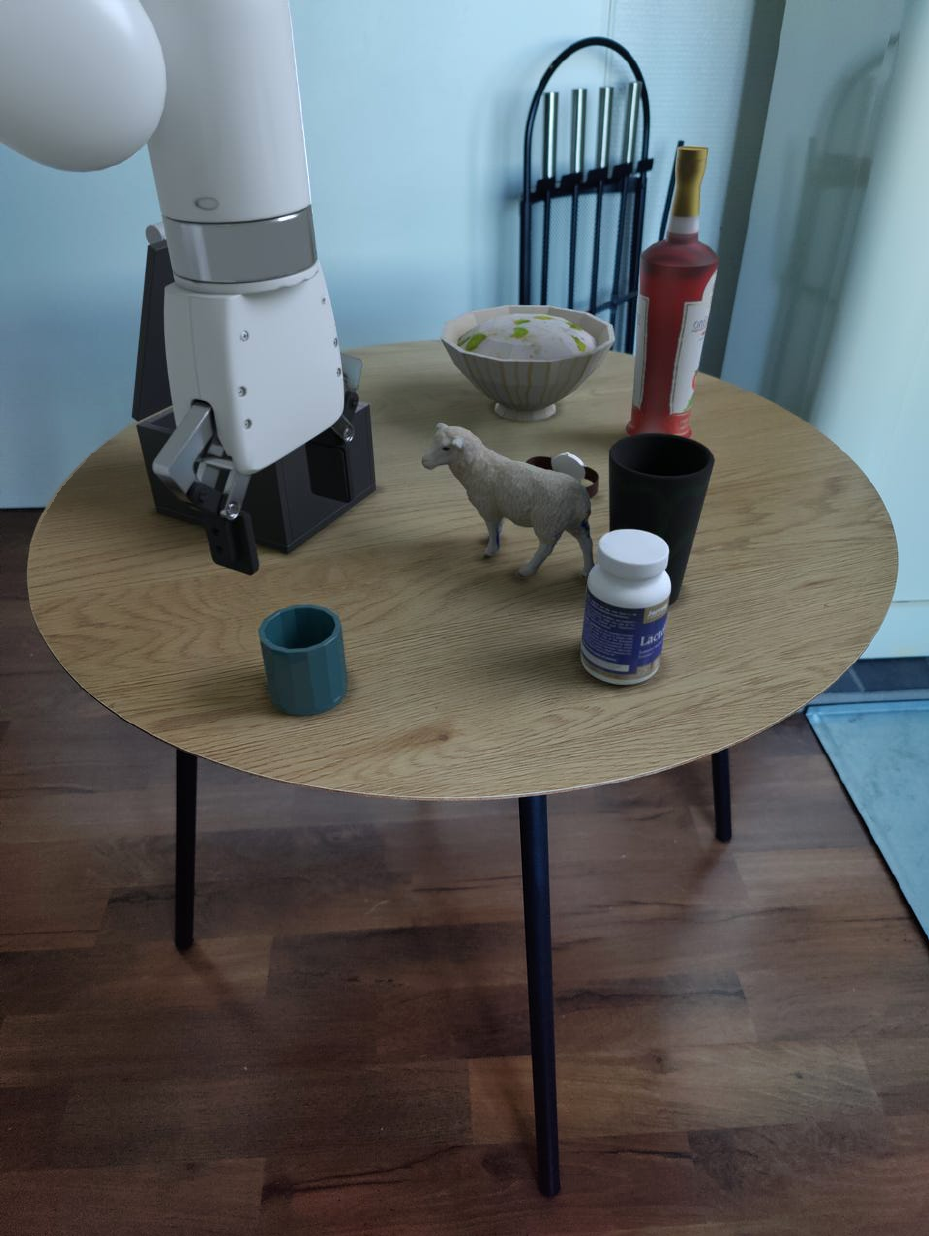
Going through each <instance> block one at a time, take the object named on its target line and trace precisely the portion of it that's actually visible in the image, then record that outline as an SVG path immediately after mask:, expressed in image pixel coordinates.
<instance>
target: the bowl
mask: <svg viewBox="0 0 929 1236" xmlns="http://www.w3.org/2000/svg"><path fill="white" fill-rule="evenodd" d="M439 339H440V340H441V342H442V344H443V346H444V348H445V350H446V352H447V353H448V355H449V357H450V359H451V361H452V364H453V365H454V367H456V369H458V370H459V371H460V373H462V375H463V376H464V377H465V378H466V379H467V380H468V381H469V382H470V383H471V385H472V386H473V387H474V388H475V389H476V390H478V391H479V392H480V393H482V394H483V395H484V396H486V397H487V398H488V399H490V400H492V401H494V402H496V403H495V406H494V412H495V413H496V414H498V415H499V416H500V417H502V418H505V419H509V420H513V421H516V422H517V421H519V422H520V421H521V422H522V421H523V422H528V421H529V422H535V421H539V420H543V419H548V418H549V417H551V416H553V415H554V414H555V413H556V409H557V408H556V407H557V405H556V403H557V402H559V401H561V400H563V399H565V398H566V397H567V396H569V395H571V394H572V393H574V392H575V391H576V390H577V389H579V387H580V386H582V384H583V383H585V382H586V381H587V380H588V378H590V377H591V376H592V375H593V373H595V372H596V371H597V370H598V369H599V368H600V366H601V365H602V363H603V362H604V360H605V358H606V356H607V355H608V353H609V351H610V350H611V348H612V347H613V345H614V343H615V342H616V337H615V331H614V325H613V324H612V323H610V322H608V321H605V319H602V318H599V316H596V315H594V314H592V313H590V312H588V311H582V310H577V309H570V308H567V307H560V306H555V305H545V304H543V305H541V304H540V305H539V304H535V305H532V304H531V305H529V304H526V305H525V304H505V305H500V306H493V307H487V308H486V307H485V308H481V309H475V310H468V311H467V312H465V313H463V314H460V315H458V316H456V317H454V318H452V319H450V320H448V321H446V322H444V323H443V326H442V331H441V333H440V336H439Z"/></svg>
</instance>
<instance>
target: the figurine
mask: <svg viewBox="0 0 929 1236" xmlns="http://www.w3.org/2000/svg"><path fill="white" fill-rule="evenodd" d="M435 428H436V430H437V431H436V432H435V434H434V435H433V440H432V443H431V446H430V447H429V449H428V450H427V451H426V452H425V454H423V455H422V457H421V460H420V461H421V465H422V466H423V468H424V469H427V470H429V471H430V470H434V469H436V468H438V467H441V466H448V469H449V470H450V472H451V474H452V475H453V476H454V478H455V479H456V480H457V481H458V482H459V483H460V485H461V486H462V487H463V488H464V489H465V491H466V495H467V498H468V501H469V502H470V503H471V505H472V506H473V508H475V509H476V510H477V512H478V514H479V517H481V519H483V521H484V523H485V526H486V529H487V533H488V536H487V538H486V539H485V541H486V542H487V548H486V549H485V550H484V552H483V553H482V555H483V556H482V557H483V558H485V559H492V558H494V556H495V555H496V554H497V552H499V551H500V549H501V544H500V536H501V535H502V534H503V530H504V529H503V528H504V523H505V520H506V519H507V520H509V521H510V522H511V523H513V524H514V525H515V526H517V527H522V528H528V529H531V528H532V529H533V533H534V534H535V536H536V537H537V539H538V541H539V544H538V548H537V550H535V551H536V552H535V553H534V554H533V556H532V557H531V558H530V560H529V561H528V562H527V563H526V564H524V565H523V566H521V567H520V568H519V569H518V570H516V575H517V577H519V578H521V579H526V578H527V577H529V576H531V575H533V574H536V573H537V572H538V570H539V569H540V567H541V566H542V564H543V563H544V561H546V559H547V558H548V557H550V555H552V553H553V551H554V549H555V546H556V545H557V543H558V542H559V541H560V539H561V537H562V536H563V534H564V532H567V533H568V534H569V535H570V536H571V537H573V538H574V539H576V540H577V543H578V546H579V548H580V550H581V553H582V558H583V567H582V571H581V572H580V574H579V577H580V579H581V580H585V579H586V578H588V576H589V573H590V571H591V570H592V568H593V567H594V566H595V565H596V564H595V561H594V553H593V552H594V542H593V539H592V536H591V525H590V523H589V518H590V516H591V515H592V502H591V499H590V498H589V494H588V492H587V490H586V488H585V487H586V486H584V485H583V484H582V483H581V482H580V481H577V480H576V479H575V478H573V477H572V476H570V475H567V474H564V473H560V472H555V471H552V470H545V469H542V468H539V467H536V466H534V465H531V464H528V463H525V462H526V461H520V460H512V459H510V458H509V457H507V456H505V455H502V454H499V453H497V452H495V451H494V450H493V449H489V448H487V447H486V446H485V445H484V444H483V443H482V441H481V439H480V438H479V437H478V436H476V435H475V434H474V433H473V432H472V431H471V430H469V429H467V428H465V427H462V426H458V425H457V426H456V425H454V426H453V425H448V424H445V423H442V422H439V423H436V426H435Z"/></svg>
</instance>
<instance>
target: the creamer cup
mask: <svg viewBox="0 0 929 1236" xmlns="http://www.w3.org/2000/svg"><path fill="white" fill-rule="evenodd" d="M257 632H258V638H259V645H260V649H261V656H262V660H263V661H262V662H263V666H264V672H265V676H266V683H267V689H268V693H269V698H270V701H271V703H272V705H274V707H275V708H276V709H277V710H279V711H281V712H282V713H284V714H288V715H291V716H298V717H307V716H314V715H320V714H323V713H325V712H328V711H330V710H332V709H334V708H335V707H336V706H338V705H339V704H340V703H342V701H343V700H344V698H345V697H346V695H347V692H348V683H349V682H348V681H349V680H348V672H347V663H346V662H347V661H346V654H345V645H344V644H345V643H344V637H343V636H344V635H343V628H342V623H341V620H340V617H339V615H338V614H337V613H335V612H334V611H333V610H332V609H329V608H328V607H326V606H322V605H317V604H313V603H312V604H311V603H310V604H309V603H307V604H292V605H290V606H287V607H284V608H280V609H277V610H275V611H274V612H272V613H270V614H269V615H268V616H266V617H264V619H263V620H262V622H261V623H260V626H259V627H258V629H257Z"/></svg>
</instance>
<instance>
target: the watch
mask: <svg viewBox="0 0 929 1236" xmlns="http://www.w3.org/2000/svg"><path fill="white" fill-rule="evenodd" d="M524 462H525V463H528V464H531V465H534V466H536V467H539V468H542V469H545V470H550V471H553V472H560V473H564V474H567V475H570V476H572V477H573V478H575V479H576V480H577V481H579V482H580V481H582V480H585V481H589V482H591V483H592V484H590V485H589V486H584V487H585V488H586V490H587V492H588V494H589V498H590V500H591V499H593V498H594V497H595V496H597V494H598V492H599V487H600V486H599V485H600V475H599V473H598V472H597V471H596V470H595V469H593V468H592V467H589V466H587V465H585V464H584V461H582V460H581V459H580V458H579V457H578V456H576V455H575V454H573V453H570V452H569V451H566V452H562V453H560V454H558V455H556V456H555V457H553V456H547V455H536V456H532V457H530V458H528V459H527V460H526V461H524Z"/></svg>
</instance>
